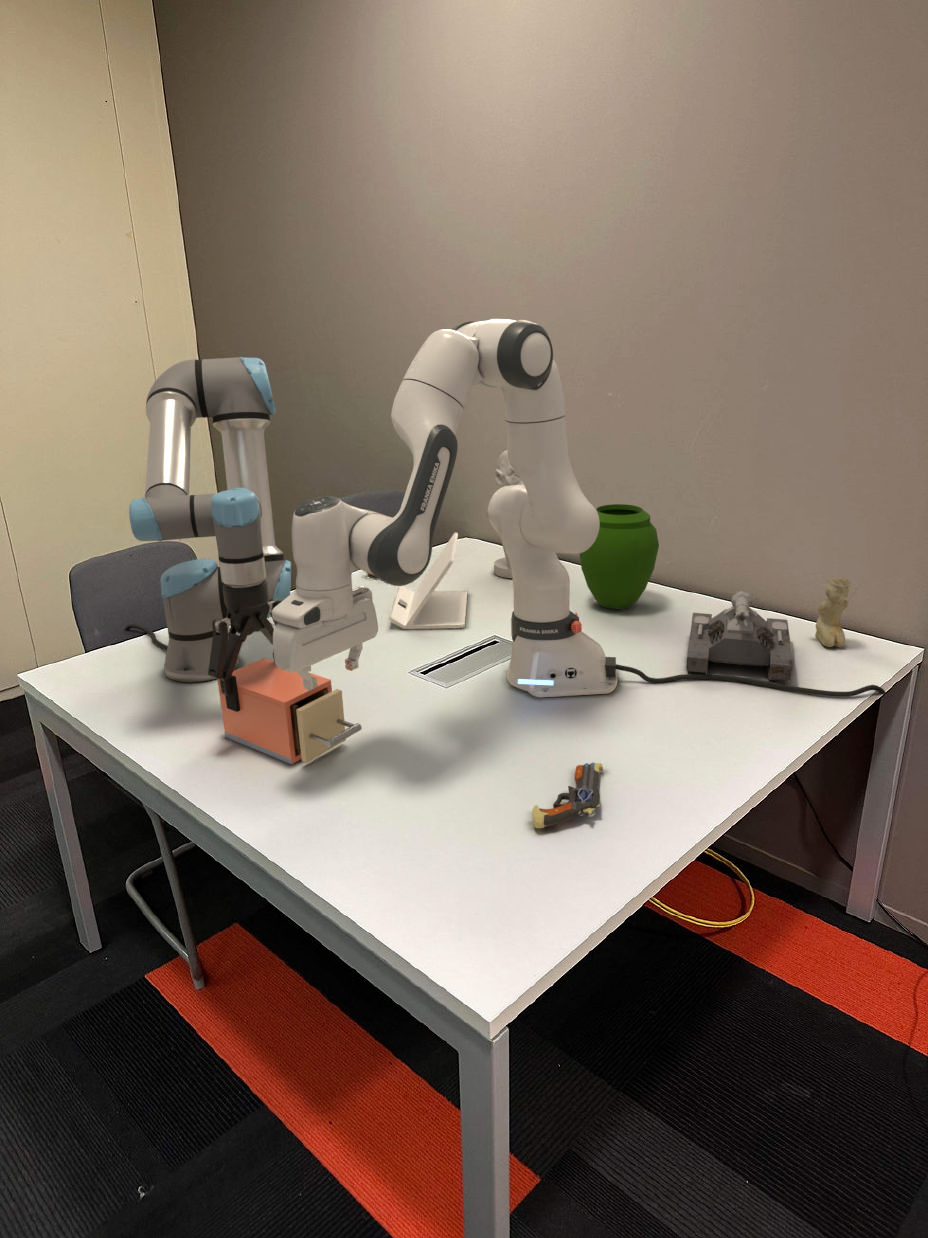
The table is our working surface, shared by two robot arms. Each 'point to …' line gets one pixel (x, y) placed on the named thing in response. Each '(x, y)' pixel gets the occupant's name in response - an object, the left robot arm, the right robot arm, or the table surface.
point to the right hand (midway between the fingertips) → (331, 678)
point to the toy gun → (573, 798)
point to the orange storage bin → (267, 708)
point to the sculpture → (832, 613)
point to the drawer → (319, 724)
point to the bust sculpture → (503, 478)
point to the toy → (740, 640)
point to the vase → (620, 556)
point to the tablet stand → (431, 599)
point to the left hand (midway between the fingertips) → (259, 697)
